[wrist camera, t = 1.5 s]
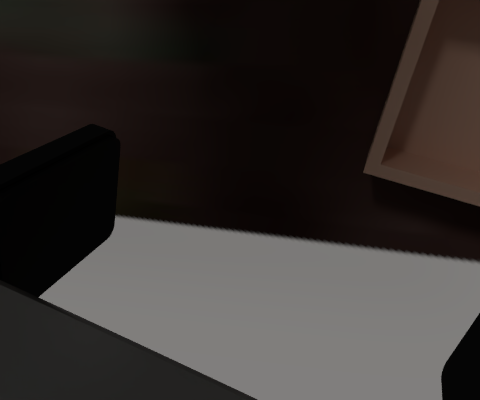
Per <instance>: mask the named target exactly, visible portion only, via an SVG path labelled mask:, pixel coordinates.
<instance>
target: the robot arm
mask: <svg viewBox="0 0 480 400" xmlns="http://www.w3.org/2000/svg"><path fill="white" fill-rule="evenodd" d="M119 157H120V141H119V140H118V139H117V138H116V135H115V133H114V132H113V131H111V130H108V129H105V128H103V127H100V126H97V125H94V124H90V125H87V126H85V127H83V128H81V129H78V130H76V131H74V132H72V133H70V134H67V135H65V136H63V137H61V138H58V139H56V140H54V141H52V142H50V143H47V144H45V145H43V146H41V147H38V148H36V149H34V150H32V151H30V152H27V153H25V154H23V155H21V156H18V157H16V158H14V159H12V160H10V161H7V162H5V163H3V164H1V165H0V400H257V399H255V398H253V397H251V396H249V395H247V394H244V393H242V392H240V391H238V390H236V389H234V388H231V387H229V386H227V385H225V384H223V383H221V382H219V381H217V380H214V379H212V378H210V377H208V376H206V375H204V374H202V373H200V372H198V371H195V370H193V369H191V368H189V367H187V366H185V365H183V364H181V363H178V362H176V361H174V360H172V359H169V358H168V357H165V356H163V355H161V354H159V353H157V352H155V351H153V350H151V349H148V348H146V347H144V346H142V345H140V344H138V343H136V342H133V341H131V340H129V339H127V338H125V337H122V336H121V335H118V334H116V333H114V332H112V331H110V330H107V329H105V328H103V327H101V326H99V325H97V324H94V323H92V322H90V321H88V320H86V319H84V318H82V317H79V316H77V315H75V314H73V313H71V312H69V311H66V310H64V309H62V308H60V307H57V306H56V305H53V304H51V303H49V302H47V301H45V300H43V299H40V298H38V297H39V296H40V295H41V294H43V293H44V292H45V291H46V290H47V289H48V288H49V287H51V286H52V285H53V284H54V283H56V282H57V281H58V280H59V279H60V278H61V277H63V276H64V275H65V274H66V273H67V272H68V271H70V270H71V269H72V268H73V267H74V266H76V265H77V264H78V263H79V262H80V261H82V260H83V259H84V258H85V257H86V256H88V255H89V254H90V253H91V252H92V251H93V250H95V249H96V248H97V247H98V246H99V245H101V244H102V243H103V242H104V241H105V240H107V239H108V237H109V236H110V235H111V233H112V231H113V228H114V221H115V210H116V196H117V183H118V170H119ZM441 382H442V398H443V400H480V313H479V315H478V316H477V318H476V319H475V321H474V322H473V324H472V325H471V327H470V328H469V330H468V331H467V332H466V334H465V335H464V337H463V338H462V340H461V341H460V343H459V344H458V346H457V347H456V349H455V350H454V352H453V353H452V355H451V356H450V357H449V359H448V360H447V362H446V364H445V366H444V368H443V371H442V376H441Z"/></svg>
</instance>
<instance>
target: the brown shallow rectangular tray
mask: <svg viewBox="0 0 480 400" xmlns="http://www.w3.org/2000/svg"><path fill="white" fill-rule="evenodd" d="M363 173H366V174H370V175H373V176H377V177H380V178H384V179H387V180H390V181H394V182H397V183H401V184H404V185H408V186H411V187H415V188H418V189H421V190H425V191H428V192H432V193H435V194H439V195H442V196H445V197H449V198H452V199H456V200H459V201H463V202H466V203H470V204H473V205H476V206H480V0H420V1H419V4H418V7H417V10H416V13H415V16H414V19H413V22H412V25H411V28H410V31H409V33H408V36H407V39H406V42H405V45H404V48H403V51H402V54H401V57H400V60H399V63H398V66H397V69H396V72H395V75H394V78H393V81H392V84H391V87H390V90H389V93H388V96H387V99H386V102H385V105H384V108H383V111H382V114H381V117H380V120H379V123H378V126H377V129H376V132H375V135H374V138H373V141H372V143H371V146H370V149H369V153H368V157H367V160H366V164H365V168H364V171H363Z"/></svg>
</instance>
